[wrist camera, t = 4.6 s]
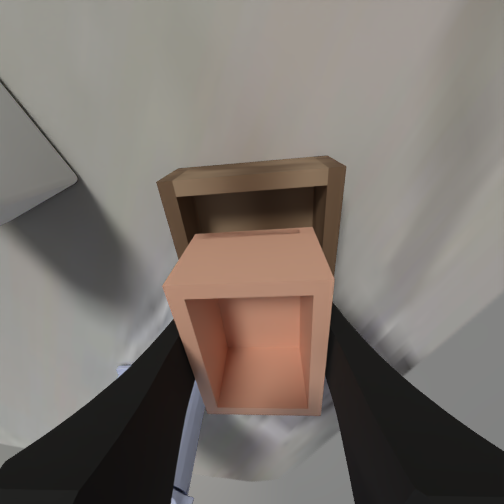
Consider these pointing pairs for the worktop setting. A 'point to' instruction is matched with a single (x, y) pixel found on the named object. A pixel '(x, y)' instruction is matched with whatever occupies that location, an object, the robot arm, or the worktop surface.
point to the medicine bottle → (26, 162)
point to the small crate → (255, 319)
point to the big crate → (256, 199)
